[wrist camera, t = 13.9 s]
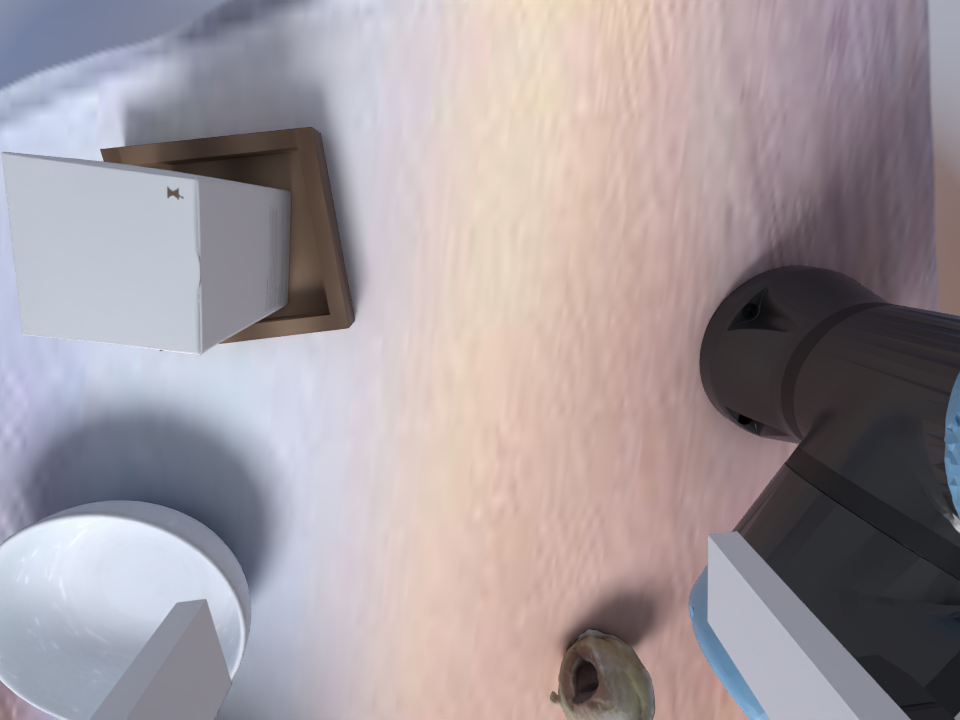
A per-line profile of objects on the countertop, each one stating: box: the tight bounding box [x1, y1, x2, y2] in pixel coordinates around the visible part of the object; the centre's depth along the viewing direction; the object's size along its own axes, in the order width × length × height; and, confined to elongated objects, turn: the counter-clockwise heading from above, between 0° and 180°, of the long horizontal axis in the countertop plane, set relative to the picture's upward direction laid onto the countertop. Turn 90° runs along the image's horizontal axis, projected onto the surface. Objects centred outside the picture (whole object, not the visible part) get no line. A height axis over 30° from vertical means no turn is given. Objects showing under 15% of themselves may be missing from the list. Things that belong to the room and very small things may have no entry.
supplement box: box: [1, 152, 291, 355], centre depth 31 cm, size 9×9×15 cm
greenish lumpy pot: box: [550, 629, 655, 720], centre depth 48 cm, size 9×8×10 cm
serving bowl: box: [0, 500, 251, 720], centre depth 43 cm, size 21×21×7 cm
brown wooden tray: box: [100, 127, 355, 351], centre depth 38 cm, size 14×14×3 cm
